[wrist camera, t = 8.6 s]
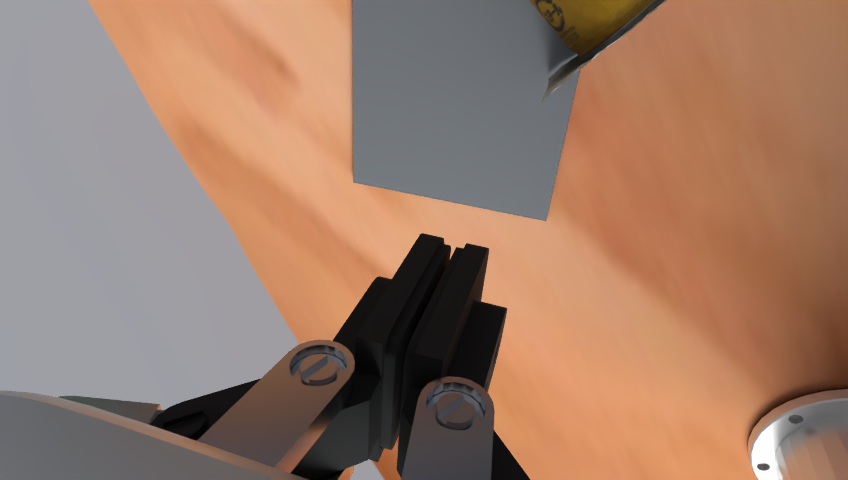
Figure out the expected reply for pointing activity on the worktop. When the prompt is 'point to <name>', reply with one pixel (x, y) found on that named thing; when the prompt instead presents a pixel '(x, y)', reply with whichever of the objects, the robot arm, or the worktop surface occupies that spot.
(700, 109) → the worktop surface
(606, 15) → the condiment
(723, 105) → the worktop surface
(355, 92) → the mat
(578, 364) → the worktop surface
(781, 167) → the worktop surface
